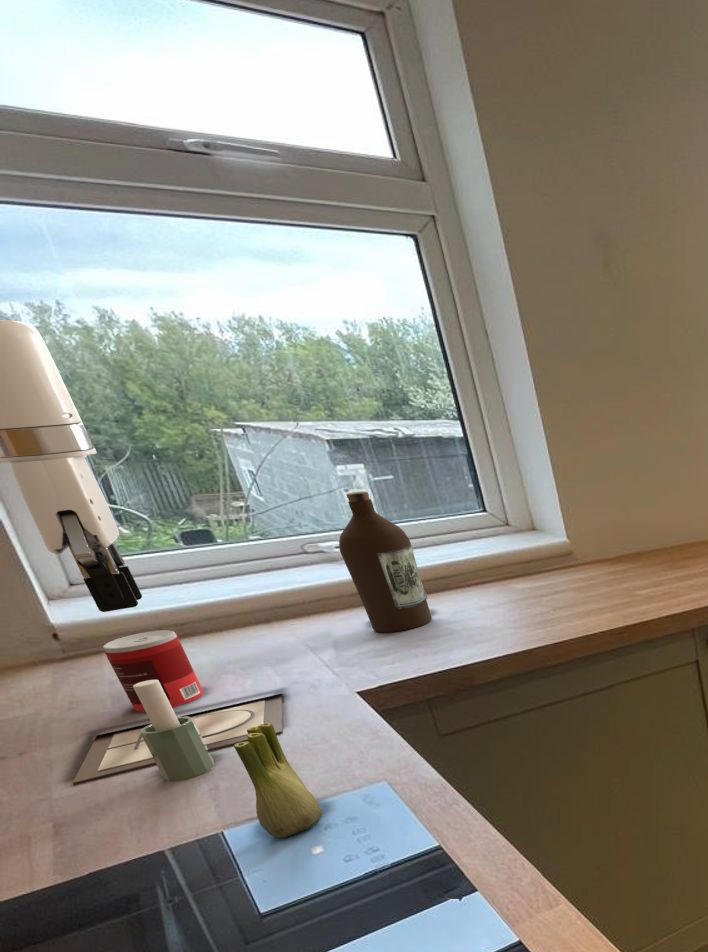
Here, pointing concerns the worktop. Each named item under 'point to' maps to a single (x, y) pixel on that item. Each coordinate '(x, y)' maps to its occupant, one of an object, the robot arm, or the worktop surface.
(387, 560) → the brown stoneware bottle
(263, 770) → the fennel bulb
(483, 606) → the worktop surface
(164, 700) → the cylinder
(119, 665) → the canned food
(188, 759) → the pen cup
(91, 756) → the framed abstract picture
